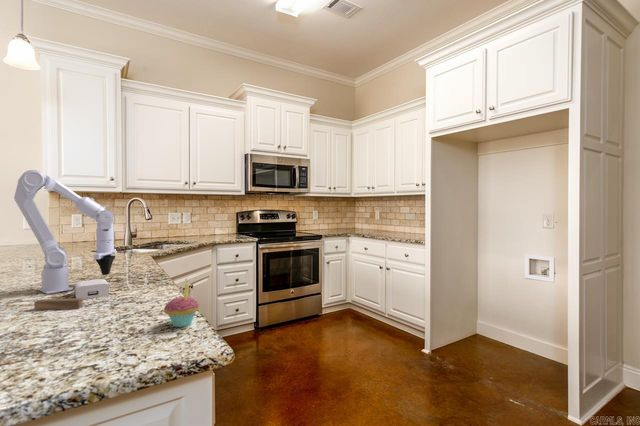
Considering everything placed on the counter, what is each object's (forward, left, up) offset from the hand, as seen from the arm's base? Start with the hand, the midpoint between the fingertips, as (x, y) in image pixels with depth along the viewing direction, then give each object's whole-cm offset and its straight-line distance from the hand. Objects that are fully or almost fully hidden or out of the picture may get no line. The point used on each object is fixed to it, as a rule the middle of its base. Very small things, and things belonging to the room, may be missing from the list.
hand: (105, 274), depth 133 cm
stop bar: (+21, -22, -4) cm, 31 cm away
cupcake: (+64, -7, -4) cm, 64 cm away
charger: (+10, -9, -4) cm, 14 cm away
